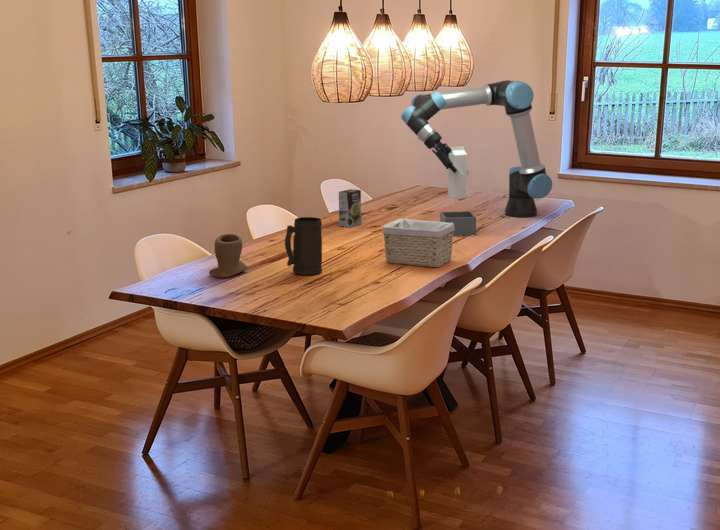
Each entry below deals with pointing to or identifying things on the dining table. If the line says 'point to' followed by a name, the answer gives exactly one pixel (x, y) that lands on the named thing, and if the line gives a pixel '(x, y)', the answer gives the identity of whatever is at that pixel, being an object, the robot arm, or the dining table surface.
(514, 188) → the robot arm
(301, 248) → the beer stein
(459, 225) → the tray
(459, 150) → the milk
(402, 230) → the storage basket
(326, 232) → the dining table surface
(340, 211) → the coffee box
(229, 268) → the stone cup
